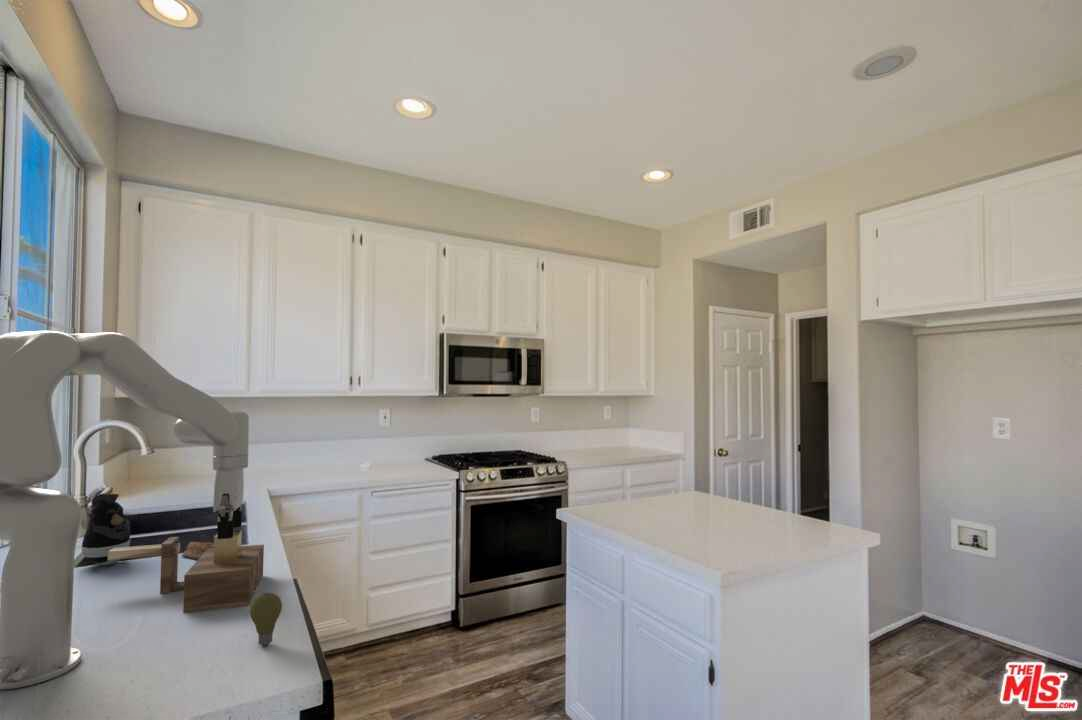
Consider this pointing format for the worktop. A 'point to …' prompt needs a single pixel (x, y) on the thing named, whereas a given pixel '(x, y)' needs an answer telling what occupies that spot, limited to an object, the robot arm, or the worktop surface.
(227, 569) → the lid
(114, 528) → the black rounded piece
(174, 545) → the wooden key
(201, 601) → the wooden box
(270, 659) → the worktop surface
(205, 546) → the wooden fragment
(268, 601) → the light bulb
